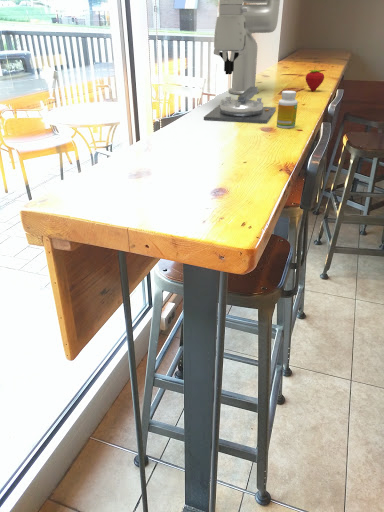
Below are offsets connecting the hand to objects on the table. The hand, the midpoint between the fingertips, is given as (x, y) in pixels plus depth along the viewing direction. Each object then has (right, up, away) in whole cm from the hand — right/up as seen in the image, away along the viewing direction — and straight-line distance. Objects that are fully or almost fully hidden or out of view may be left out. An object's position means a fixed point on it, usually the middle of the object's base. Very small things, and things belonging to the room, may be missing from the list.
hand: (228, 73), depth 140 cm
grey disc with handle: (+6, -11, +1) cm, 13 cm away
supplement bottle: (+15, -24, -18) cm, 34 cm away
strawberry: (+39, +7, +33) cm, 51 cm away
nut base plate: (+4, -16, -5) cm, 17 cm away
